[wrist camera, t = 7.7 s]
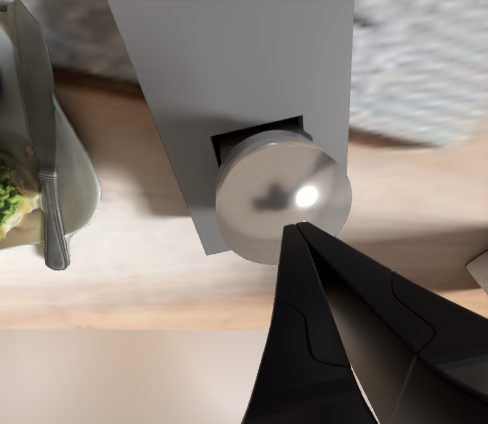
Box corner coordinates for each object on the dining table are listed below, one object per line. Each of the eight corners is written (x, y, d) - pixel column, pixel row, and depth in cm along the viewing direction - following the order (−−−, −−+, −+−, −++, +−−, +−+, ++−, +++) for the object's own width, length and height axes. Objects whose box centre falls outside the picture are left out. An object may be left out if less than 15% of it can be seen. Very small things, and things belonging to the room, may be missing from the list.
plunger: (296, 101, 14) (355, 130, 8) (302, 185, 17) (348, 249, 11) (204, 123, 14) (197, 166, 8) (226, 202, 17) (233, 275, 11)
